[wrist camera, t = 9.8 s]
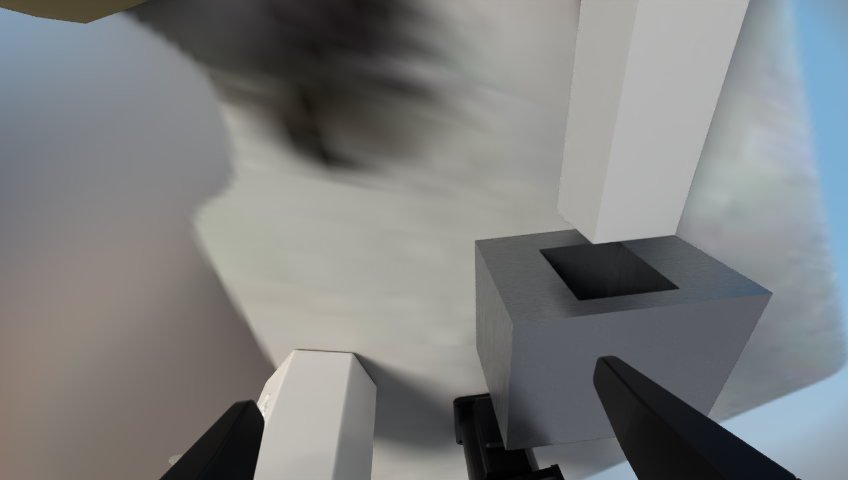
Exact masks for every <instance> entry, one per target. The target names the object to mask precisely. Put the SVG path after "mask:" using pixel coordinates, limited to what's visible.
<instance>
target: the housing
mask: <svg viewBox="0 0 848 480" xmlns="http://www.w3.org/2000/svg"><path fill="white" fill-rule="evenodd" d="M475 270H476V335H477V351H478V354H479V358H480V361H481V365H482V368H483V372H484V375H485V379H486V382H487V386H488V390H489V393H490V397H491V400H492V404H493V407H494V411H495V414H496V418H497V421H498V425H499V428H500V432H501V435H502V439H503V442H504V446H505V449H506V451H508V450H516V449H523V448H531V447H539V446H547V445H555V444H562V443H570V442H578V441H586V440H594V439H601V438H609V437H616V435H615V433H614V431H613V428H612V426H611V424H610V422H609V419H608V417H607V415H606V412H605V410H604V408H603V405H602V403H601V401H600V399H599V396H598V394H597V392H596V389H595V387H594V384H593V374H594V370H595V366H596V361H597V359H598V358H599V357H602V356H610V355H613V356H616V357H618V358H620V359H621V360H623V361H624V362H626V363H627V364H629V365H630V366H632V367H633V368H635V369H636V370H638V371H639V372H641V373H642V374H644V375H645V376H647V377H648V378H650V379H651V380H653V381H654V382H656V383H657V384H659V385H660V386H662V387H663V388H665V389H666V390H668V391H669V392H671V393H672V394H674V395H675V396H677V397H678V398H680V399H681V400H683V401H684V402H686V403H687V404H689V405H690V406H692V407H693V408H695V409H696V410H698V411H699V412H701V413H702V414H704V415H705V416H708V414H709V412H710V410H711V408H712V406H713V405H714V403H715V401H716V399H717V397H718V395H719V393H720V391H721V390H722V388H723V386H724V384H725V382H726V380H727V378H728V376H729V375H730V373H731V371H732V369H733V367H734V365H735V363H736V361H737V360H738V358H739V356H740V354H741V352H742V350H743V348H744V346H745V345H746V343H747V341H748V339H749V337H750V335H751V333H752V331H753V330H754V328H755V326H756V324H757V322H758V320H759V318H760V316H761V315H762V313H763V311H764V309H765V307H766V305H767V303H768V301H769V300H770V298H771V296H772V294H773V293H772V292H770V291H768V290H767V289H765V288H763V287H761V286H760V285H758V284H756V283H755V282H753V281H751V280H750V279H748V278H746V277H745V276H743V275H741V274H739V273H738V272H736V271H734V270H733V269H731V268H729V267H728V266H726V265H724V264H723V263H721V262H719V261H717V260H716V259H714V258H712V257H711V256H709V255H707V254H706V253H704V252H702V251H701V250H699V249H697V248H695V247H694V246H692V245H690V244H689V243H687V242H685V241H684V240H682V239H680V238H679V237H677V236H675V235H669V236H660V237H651V238H643V239H634V240H625V241H616V242H608V243H599V244H593V243H592V242H590V241H589V240H588V239H587V238H586V237H585V236H584V235H583V234H581V233H580V232H579V231H578V230H577V229H574V230H565V231H557V232H548V233H539V234H530V235H521V236H512V237H504V238H495V239H486V240H477V241H475Z"/></svg>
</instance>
